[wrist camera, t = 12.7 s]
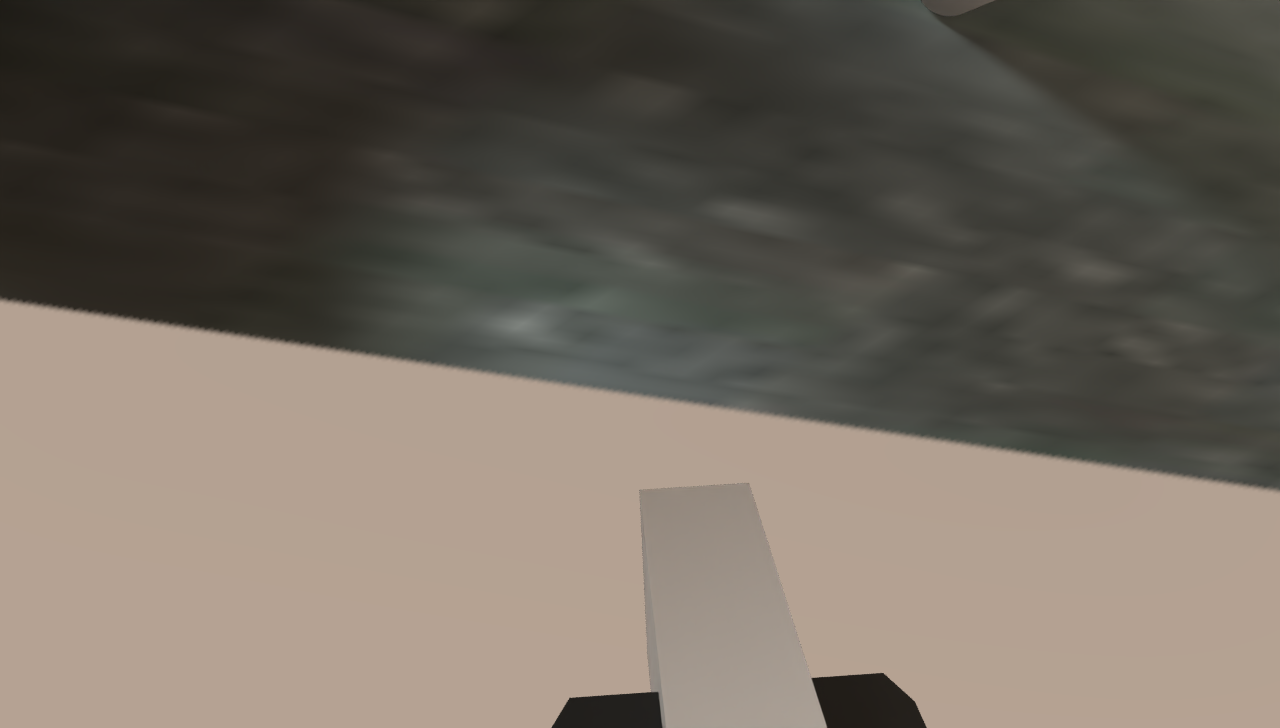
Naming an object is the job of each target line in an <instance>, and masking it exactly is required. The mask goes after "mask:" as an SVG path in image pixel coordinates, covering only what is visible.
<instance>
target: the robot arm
mask: <svg viewBox="0 0 1280 728" xmlns="http://www.w3.org/2000/svg"><path fill="white" fill-rule="evenodd" d="M639 491H640V509H641V510H640V511H641V531H642V550H643V551H642V552H643V573H644V592H645V614H646V633H647V654H648V666H649V676H650V686H651V692H647V693H634V694H620V695H604V696H592V697H591V696H590V697H576V698H569V700H568V702H567V703H566V705H565V707H564V708H563V710H562V712H561V713H560V715H559V716H558V718H557V720H556V721H555V723H554V725H553V726H552V728H926V726H925V723H924V721H923V719H922V717H921V714H920V712H919V710H918V708H917V706H916V703H915V701H913V700H912V699H911V698H910V697H909V696H908V695H907V694H906V693H905V692H903V691H902V690H901V689H900V688H899V687H898V686H897V685H896V684H895V683H894V682H892V681H891V680H890V679H889V678H888V677H887V676H886V675H884V673H876V674H862V675H848V676H834V677H819V678H811V676H810V673H809V669H808V666H807V663H806V660H805V657H804V654H803V651H802V647H801V644H800V641H799V638H798V635H797V632H796V629H795V626H794V623H793V619H792V616H791V613H790V610H789V607H788V604H787V601H786V597H785V594H784V592H783V588H782V585H781V582H780V579H779V575H778V573H777V569H776V566H775V563H774V560H773V557H772V554H771V551H770V547H769V544H768V541H767V538H766V535H765V532H764V529H763V526H762V522H761V519H760V516H759V513H758V510H757V507H756V504H755V500H754V497H753V494H752V491H751V488H750V485H749V483H740V484H724V485H709V486H693V487H678V488H661V489H647V490H639Z"/></svg>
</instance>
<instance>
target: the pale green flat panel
mask: <svg viewBox="0 0 1280 728" xmlns="http://www.w3.org/2000/svg"><path fill="white" fill-rule="evenodd" d="M921 1H922V3H923V4H924V5H925V6H926V7H927V8H928V9H929V10H931V11H932V12H934V13H936V14H939V15H942V16H957V15H961V14H963V13H966V12H968V11H971V10H973V9H975V8H978V7H980V6H983V5H985V4H988V3H990V2H992V1H995V0H921Z"/></svg>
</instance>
